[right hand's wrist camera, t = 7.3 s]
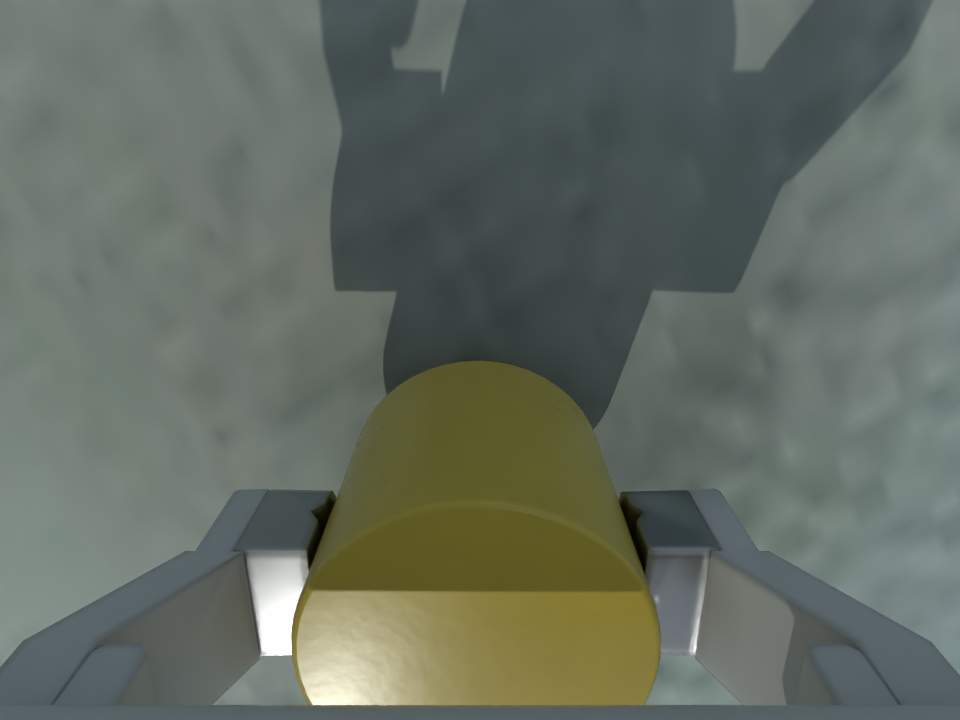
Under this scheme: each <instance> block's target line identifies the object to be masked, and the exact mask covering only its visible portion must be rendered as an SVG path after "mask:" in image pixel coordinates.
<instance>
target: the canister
mask: <svg viewBox="0 0 960 720" xmlns="http://www.w3.org/2000/svg"><path fill="white" fill-rule="evenodd" d="M291 651H292V659H293V664H294V668H295V673H296V677H297V680H298V683H299V685H300V688H301V691H302V693H303V695H304V697H305V699H306V701H307V702H308V704H309V705H644V704H645V702H646V700H647V699H648V697H649V694H650V692H651V689H652V687H653V684H654V682H655V679H656V675H657V670H658V666H659V662H660V654H661V631H660V622H659V617H658V614H657V610H656V607H655V603H654V600H653V597H652V594H651V592H650V589H649V586H648V583H647V580H646V577H645V575H644V572H643V569H642V566H641V563H640V560H639V558H638V555H637V552H636V549H635V546H634V543H633V540H632V538H631V535H630V532H629V529H628V526H627V523H626V521H625V518H624V515H623V512H622V509H621V506H620V504H619V501H618V498H617V495H616V492H615V489H614V487H613V484H612V481H611V478H610V475H609V472H608V469H607V467H606V464H605V461H604V458H603V455H602V452H601V450H600V447H599V444H598V441H597V438H596V435H595V433H594V431H593V429H592V427H591V425H590V422H589V421H588V419H587V418H586V416H585V415H584V413H583V411H582V410H581V409H580V407H579V406H578V405H577V404H576V403H575V402H574V401H573V399H572V398H571V397H570V396H569V395H567V394H566V393H565V392H564V391H563V390H562V389H560V388H559V387H558V386H556V385H555V384H553V383H552V382H550V381H549V380H547V379H546V378H544V377H542V376H540V375H538V374H536V373H534V372H532V371H529V370H526V369H523V368H520V367H517V366H514V365H510V364H505V363H500V362H492V361H462V362H456V363H450V364H445V365H441V366H438V367H435V368H431V369H428V370H426V371H424V372H422V373H419V374H417V375H415V376H413V377H411V378H410V379H408V380H406V381H405V382H403V383H402V384H400V385H399V386H397V387H396V388H395V389H394V390H393V391H391V392H390V393H389V394H388V395H387V396H386V397H385V398H384V399H383V400H382V401H381V402H380V403H379V404H378V405H377V406H376V408H375V409H374V411H373V412H372V414H371V415H370V416H369V418H368V419H367V422H366V424H365V426H364V428H363V430H362V432H361V434H360V437H359V439H358V442H357V445H356V447H355V450H354V453H353V455H352V458H351V461H350V463H349V466H348V469H347V472H346V474H345V477H344V480H343V482H342V485H341V488H340V490H339V493H338V496H337V498H336V501H335V504H334V506H333V509H332V512H331V514H330V517H329V520H328V522H327V525H326V528H325V530H324V533H323V536H322V538H321V541H320V544H319V546H318V549H317V552H316V554H315V557H314V560H313V562H312V565H311V568H310V570H309V573H308V576H307V578H306V581H305V584H304V586H303V589H302V592H301V594H300V597H299V600H298V603H297V607H296V610H295V613H294V616H293V624H292V631H291Z"/></svg>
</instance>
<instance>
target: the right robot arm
mask: <svg viewBox="0 0 960 720" xmlns="http://www.w3.org/2000/svg"><path fill="white" fill-rule="evenodd" d="M335 501H336V496H335V494H334V492H333V491H315V490H268V489H249V490H238V491H235V492H234V493H233V494H232V496H231V497H230V499H229V500H228V502H227V503H226V505H225V506H224V508H223V510H222V511H221V513H220V514H219V516H218V517H217V519H216V520H215V522H214V523H213V525H212V526H211V528H210V529H209V531H208V532H207V534H206V536H205V537H204V539H203V540H202V542H201V543H200V545H199V546H198V548H197V549H196V551H185V552H183V553H181V554H180V555H178V556H176V557H174V558H172V559H170V560H169V561H167V562H165V563H163V564H161V565H160V566H158V567H156V568H154V569H152V570H151V571H149V572H147V573H145V574H143V575H142V576H140V577H138V578H136V579H134V580H132V581H131V582H129V583H127V584H125V585H123V586H122V587H120V588H118V589H116V590H114V591H113V592H111V593H109V594H107V595H105V596H104V597H102V598H100V599H98V600H96V601H94V602H93V603H91V604H89V605H87V606H85V607H84V608H82V609H80V610H78V611H76V612H75V613H73V614H71V615H69V616H67V617H65V618H64V619H62V620H60V621H58V622H56V623H55V624H53V625H51V626H49V627H47V628H46V629H44V630H42V631H40V632H38V633H37V634H35V635H33V636H31V637H29V638H27V639H26V640H24V641H23V642H22V643H21V644H20V645H19V646H18V647H17V649H16V650H15V651H14V652H13V653H12V654H11V656H10V657H9V658H8V659H7V660H6V661H5V662H4V664H3V665H2V666H1V667H0V720H960V675H959V674H958V673H957V672H956V671H955V669H954V668H953V667H952V666H951V665H950V663H949V662H948V661H947V660H946V659H945V658H944V656H943V655H942V654H941V653H940V652H939V650H938V649H937V648H936V647H935V646H934V645H933V643H932V642H931V641H929V640H927V639H925V638H923V637H922V636H920V635H918V634H916V633H914V632H913V631H911V630H909V629H907V628H905V627H904V626H902V625H900V624H898V623H897V622H895V621H893V620H891V619H889V618H888V617H886V616H884V615H882V614H880V613H879V612H877V611H875V610H873V609H871V608H870V607H868V606H866V605H864V604H863V603H861V602H859V601H857V600H855V599H854V598H852V597H850V596H848V595H846V594H845V593H843V592H841V591H839V590H837V589H836V588H834V587H832V586H830V585H829V584H827V583H825V582H823V581H821V580H820V579H818V578H816V577H814V576H812V575H811V574H809V573H807V572H805V571H803V570H802V569H800V568H798V567H796V566H795V565H793V564H791V563H789V562H787V561H786V560H784V559H782V558H780V557H778V556H777V555H775V554H773V553H771V552H769V551H759V550H758V549H757V547H756V546H755V544H754V542H753V541H752V539H751V538H750V536H749V535H748V533H747V532H746V530H745V529H744V527H743V525H742V524H741V522H740V521H739V519H738V518H737V516H736V515H735V513H734V512H733V510H732V509H731V507H730V505H729V504H728V502H727V501H726V499H725V498H724V496H723V495H722V493H721V492H720V491H718V490H716V489H701V490H676V491H636V492H621V495H620V498H619V504H620V506H621V509H622V512H623V515H624V518H625V521H626V523H627V526H628V529H629V532H630V535H631V538H632V540H633V543H634V546H635V549H636V552H637V555H638V558H639V560H640V563H641V566H642V569H643V572H644V575H645V577H646V580H647V583H648V586H649V589H650V592H651V594H652V597H653V600H654V603H655V607H656V610H657V614H658V617H659V622H660V631H661V654H660V655H684V656H695V659H696V660H697V661H698V662H699V663H700V664H701V665H702V666H703V667H704V668H705V669H706V670H707V671H708V672H709V673H710V674H711V675H712V676H713V677H714V678H715V679H717V680H718V681H719V682H720V683H721V684H722V685H723V686H724V687H725V688H726V689H727V690H728V691H729V692H730V693H731V694H732V695H733V696H734V697H735V698H736V699H737V700H738V701H739V702H740V703H741V704H742V705H212V704H213V703H215V702H216V701H217V700H218V699H219V698H220V697H221V696H222V695H223V694H224V693H225V692H226V691H227V690H228V689H229V688H230V687H231V686H232V685H233V684H234V683H235V682H236V681H237V680H238V679H240V678H241V677H242V676H243V675H244V674H245V673H246V672H247V671H248V670H249V669H250V668H251V667H252V666H253V665H254V664H255V663H256V662H257V661H258V660H259V659H260V657H259V656H270V655H292V651H291V631H292V624H293V616H294V613H295V610H296V607H297V603H298V600H299V597H300V594H301V592H302V589H303V586H304V584H305V581H306V578H307V576H308V573H309V570H310V568H311V565H312V562H313V560H314V557H315V554H316V552H317V549H318V546H319V544H320V541H321V538H322V536H323V533H324V530H325V528H326V525H327V522H328V520H329V517H330V514H331V512H332V509H333V506H334V504H335Z"/></svg>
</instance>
